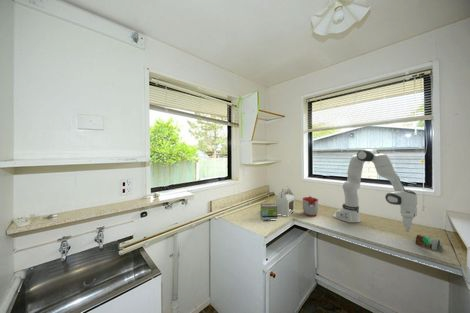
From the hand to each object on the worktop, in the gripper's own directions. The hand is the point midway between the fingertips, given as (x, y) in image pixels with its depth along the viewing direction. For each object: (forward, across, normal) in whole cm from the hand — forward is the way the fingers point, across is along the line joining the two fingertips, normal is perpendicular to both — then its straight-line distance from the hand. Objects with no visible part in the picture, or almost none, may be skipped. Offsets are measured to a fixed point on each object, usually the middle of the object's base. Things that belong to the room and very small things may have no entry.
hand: (407, 229), depth 129 cm
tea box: (+9, +45, -96) cm, 107 cm away
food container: (+4, +1, +5) cm, 6 cm away
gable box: (+9, +18, -94) cm, 96 cm away
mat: (+7, 0, +12) cm, 13 cm away
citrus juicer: (+8, +5, -72) cm, 73 cm away
